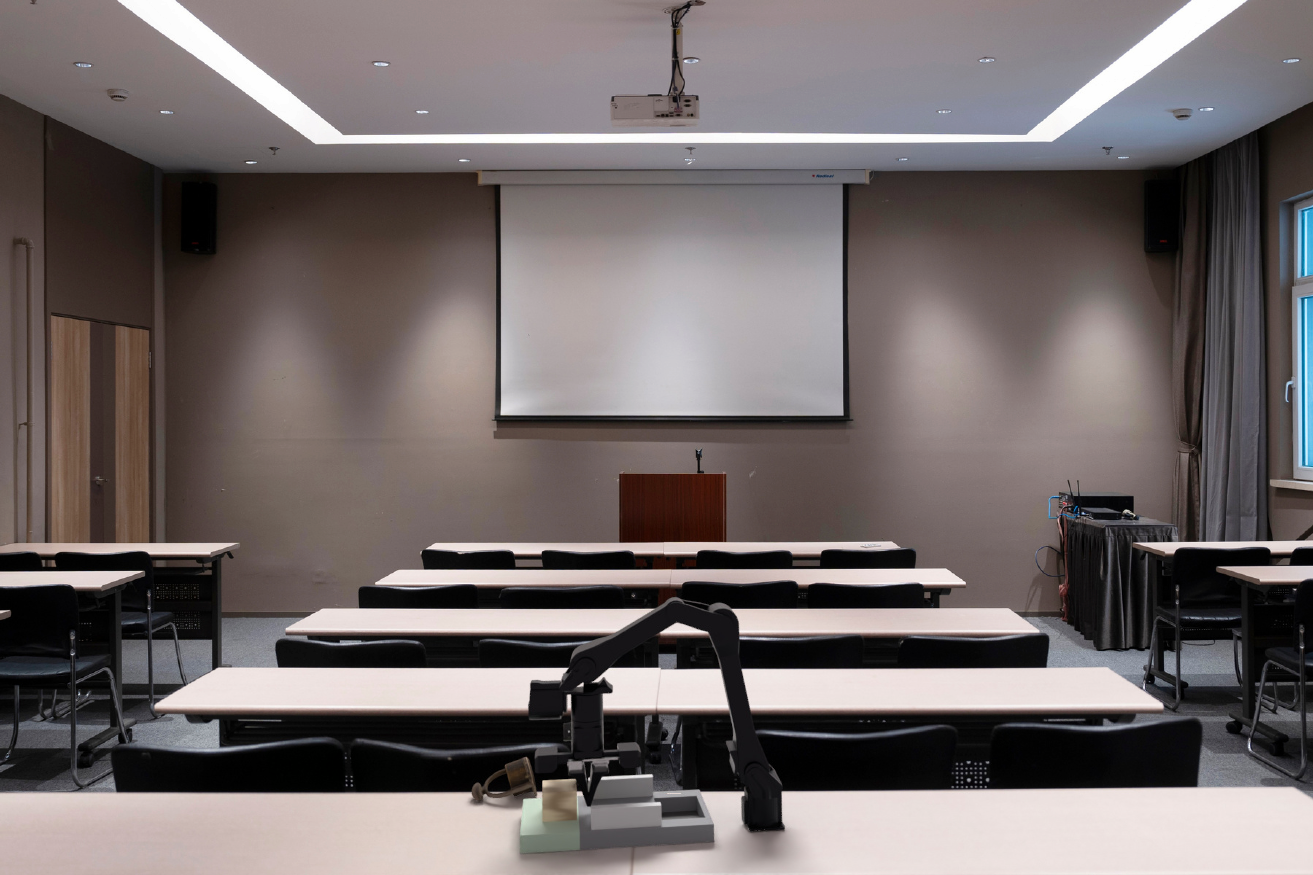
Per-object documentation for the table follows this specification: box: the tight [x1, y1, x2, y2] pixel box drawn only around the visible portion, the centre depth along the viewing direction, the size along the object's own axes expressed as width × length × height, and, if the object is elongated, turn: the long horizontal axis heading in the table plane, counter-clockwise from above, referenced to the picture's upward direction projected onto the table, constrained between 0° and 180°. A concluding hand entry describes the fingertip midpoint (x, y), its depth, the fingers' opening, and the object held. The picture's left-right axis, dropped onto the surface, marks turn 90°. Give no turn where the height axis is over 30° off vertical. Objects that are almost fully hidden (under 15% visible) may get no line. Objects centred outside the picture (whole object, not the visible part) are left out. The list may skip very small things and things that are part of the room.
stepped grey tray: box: [519, 773, 715, 855], centre depth 159 cm, size 33×16×6 cm, turn 96°
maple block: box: [541, 778, 578, 822], centre depth 158 cm, size 6×6×5 cm
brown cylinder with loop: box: [471, 756, 538, 803], centre depth 175 cm, size 7×13×10 cm
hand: (588, 805), depth 159 cm, fingers closed
